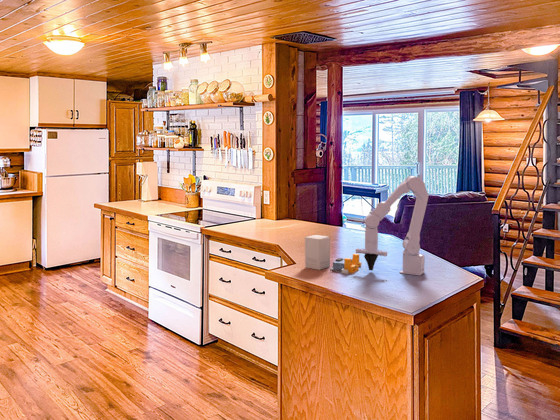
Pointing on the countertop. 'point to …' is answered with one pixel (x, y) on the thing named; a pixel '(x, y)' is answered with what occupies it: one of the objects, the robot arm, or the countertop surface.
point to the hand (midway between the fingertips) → (371, 269)
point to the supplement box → (317, 252)
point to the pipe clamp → (352, 263)
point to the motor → (341, 266)
